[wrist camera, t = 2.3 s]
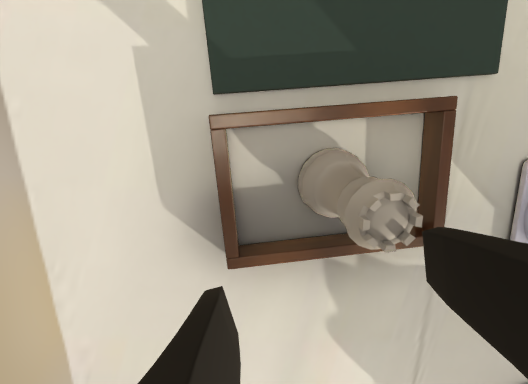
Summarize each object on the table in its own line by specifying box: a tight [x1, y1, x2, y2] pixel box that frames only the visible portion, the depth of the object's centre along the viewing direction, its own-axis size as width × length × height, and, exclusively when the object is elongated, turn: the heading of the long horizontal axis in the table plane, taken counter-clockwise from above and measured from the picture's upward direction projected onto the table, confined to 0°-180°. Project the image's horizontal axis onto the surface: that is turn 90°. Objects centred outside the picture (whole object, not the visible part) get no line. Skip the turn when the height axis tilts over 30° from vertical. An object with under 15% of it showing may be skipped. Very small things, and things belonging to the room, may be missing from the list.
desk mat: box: [202, 0, 508, 94], centre depth 16 cm, size 18×7×1 cm, turn 95°
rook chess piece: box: [298, 148, 423, 252], centre depth 15 cm, size 4×4×8 cm
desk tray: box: [209, 96, 458, 269], centre depth 18 cm, size 15×10×2 cm, turn 95°
